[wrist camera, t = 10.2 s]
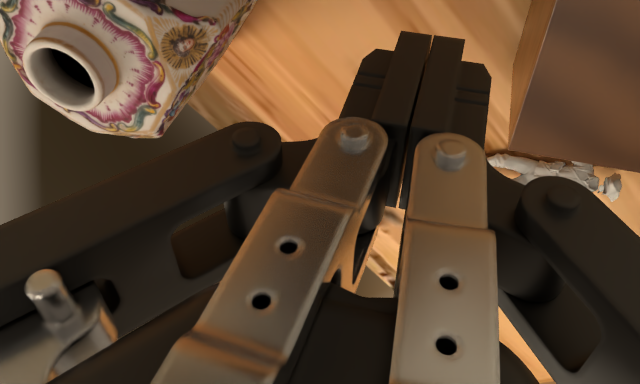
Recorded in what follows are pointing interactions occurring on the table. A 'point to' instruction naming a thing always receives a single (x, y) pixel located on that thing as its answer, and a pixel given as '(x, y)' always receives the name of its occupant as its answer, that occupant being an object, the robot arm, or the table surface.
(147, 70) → the decorative jar
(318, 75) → the table surface
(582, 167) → the soldier figure
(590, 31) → the box
